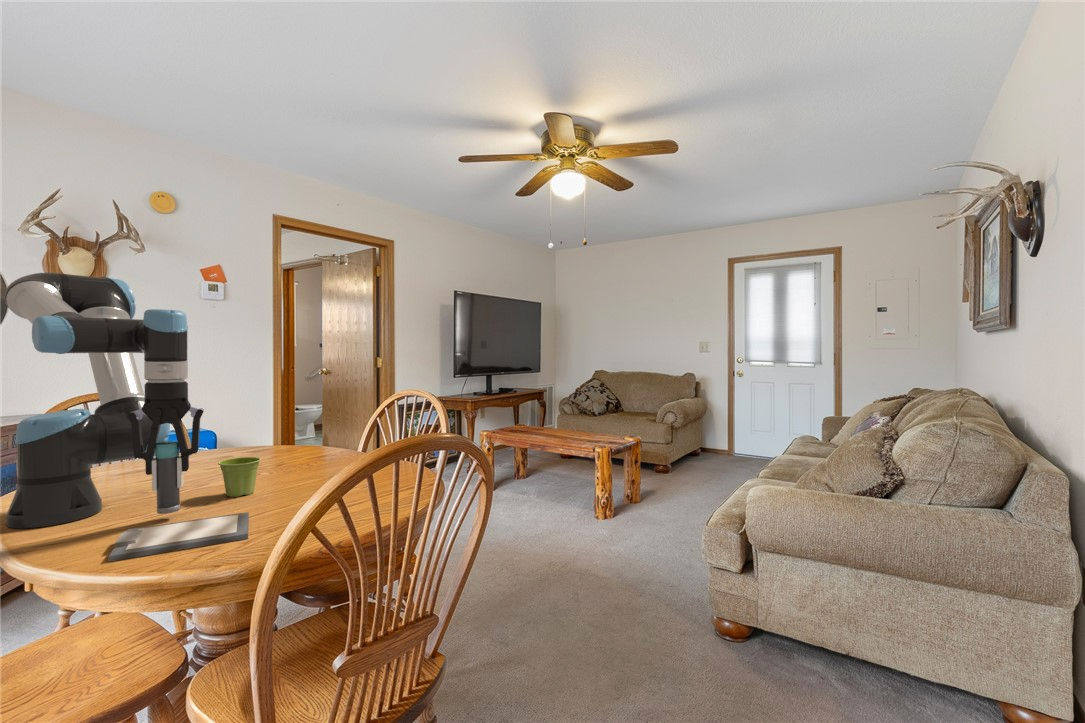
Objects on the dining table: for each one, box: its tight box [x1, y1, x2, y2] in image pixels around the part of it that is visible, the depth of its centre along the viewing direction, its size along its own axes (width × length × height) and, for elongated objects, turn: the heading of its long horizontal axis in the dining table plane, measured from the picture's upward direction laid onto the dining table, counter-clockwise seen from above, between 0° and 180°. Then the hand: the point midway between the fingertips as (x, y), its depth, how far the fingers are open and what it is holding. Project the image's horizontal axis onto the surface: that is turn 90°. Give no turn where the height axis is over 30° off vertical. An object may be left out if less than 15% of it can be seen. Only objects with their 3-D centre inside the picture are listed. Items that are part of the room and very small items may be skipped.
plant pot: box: [217, 456, 262, 498], centre depth 128 cm, size 9×9×9 cm
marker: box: [155, 440, 181, 515], centre depth 108 cm, size 4×4×15 cm
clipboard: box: [108, 511, 250, 563], centre depth 98 cm, size 21×15×2 cm
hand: (167, 487), depth 108 cm, fingers closed on marker, 4 cm apart
